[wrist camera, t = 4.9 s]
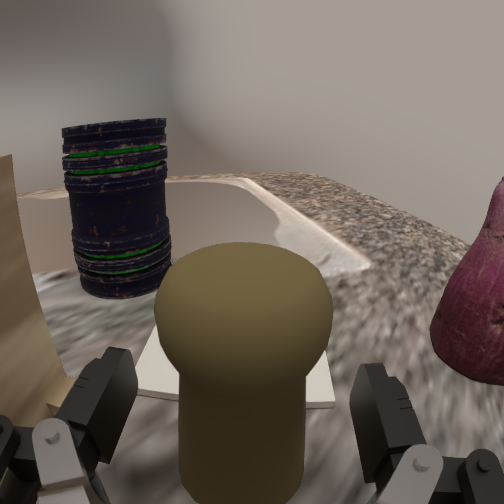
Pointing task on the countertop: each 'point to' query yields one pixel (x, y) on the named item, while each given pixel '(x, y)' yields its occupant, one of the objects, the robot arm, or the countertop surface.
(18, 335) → the maple board
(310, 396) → the coaster
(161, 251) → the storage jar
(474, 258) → the vegetable
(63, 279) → the countertop surface
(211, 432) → the cork
